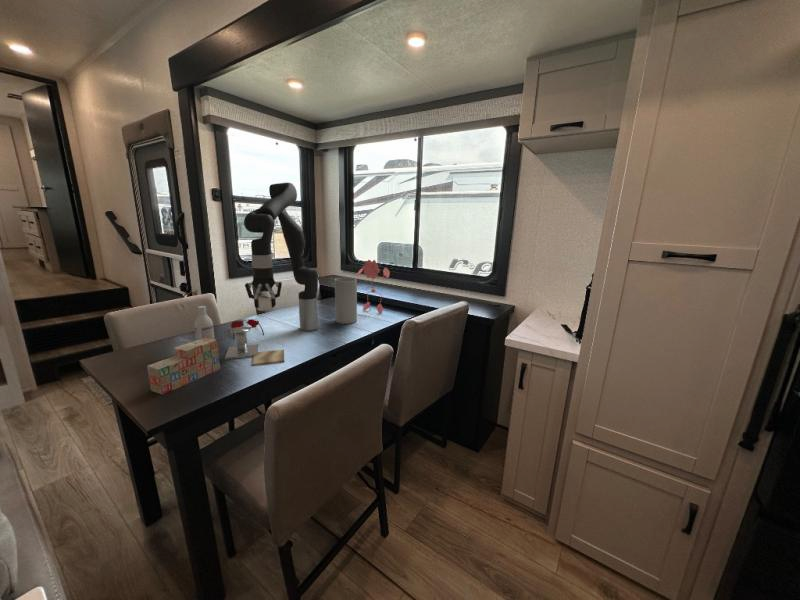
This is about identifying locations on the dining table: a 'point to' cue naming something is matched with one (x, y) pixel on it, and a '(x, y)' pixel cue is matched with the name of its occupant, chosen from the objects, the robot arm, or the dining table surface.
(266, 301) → the cap
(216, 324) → the dining table surface
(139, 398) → the dining table surface
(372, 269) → the figurine
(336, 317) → the cylinder vase
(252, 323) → the glasses
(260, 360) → the coaster
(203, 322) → the bath foam
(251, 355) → the knob on square base
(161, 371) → the stack of blocks
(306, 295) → the robot arm
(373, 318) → the dining table surface
